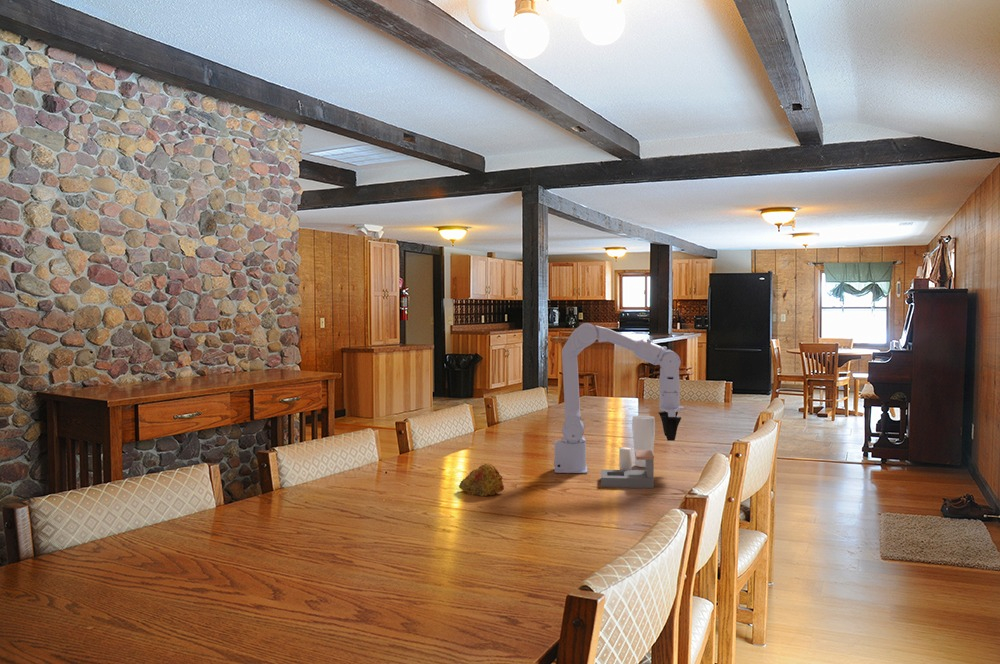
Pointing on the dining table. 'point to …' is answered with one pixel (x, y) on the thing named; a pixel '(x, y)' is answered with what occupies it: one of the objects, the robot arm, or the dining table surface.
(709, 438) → the dining table surface
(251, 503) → the dining table surface
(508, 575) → the dining table surface
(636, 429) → the cream rounded cylinder
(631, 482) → the socket station
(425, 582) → the dining table surface
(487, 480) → the rock
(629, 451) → the peg
